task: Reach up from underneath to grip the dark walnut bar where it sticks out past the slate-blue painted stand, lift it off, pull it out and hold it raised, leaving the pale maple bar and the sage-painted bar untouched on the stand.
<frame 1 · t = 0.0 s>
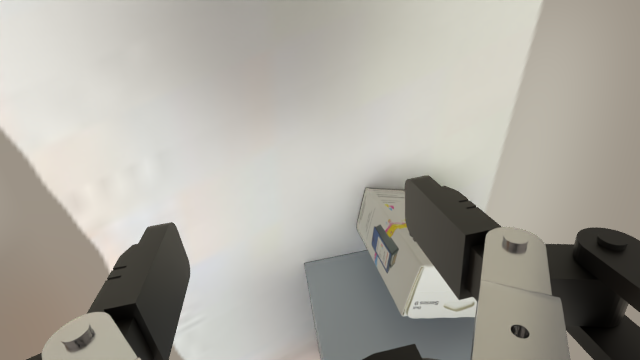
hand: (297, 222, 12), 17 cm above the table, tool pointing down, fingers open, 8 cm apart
stand: (366, 300, 39), on the table
ink box: (398, 207, 34), on the table
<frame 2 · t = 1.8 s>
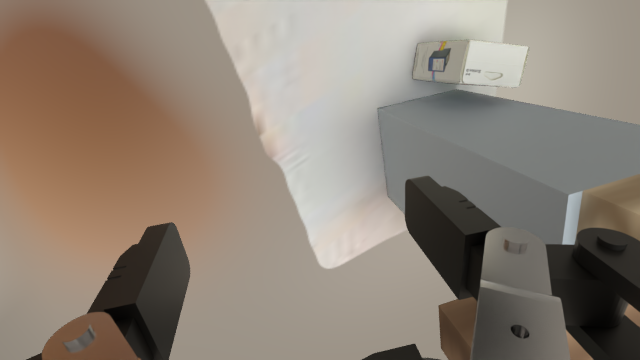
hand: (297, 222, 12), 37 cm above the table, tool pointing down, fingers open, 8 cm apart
stand: (420, 145, 53), on the table
ink box: (439, 62, 49), on the table
walnut bar: (581, 280, 24), point 32 cm above the table, touching stand
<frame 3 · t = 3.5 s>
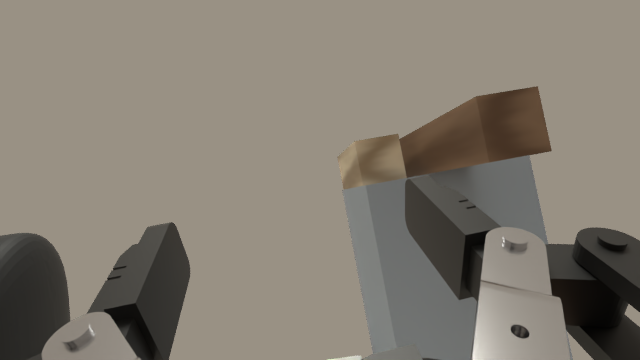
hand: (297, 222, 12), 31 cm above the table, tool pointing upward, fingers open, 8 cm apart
maple bar: (370, 184, 35), point 32 cm above the table, touching stand
walnut bar: (439, 171, 31), point 32 cm above the table, touching stand
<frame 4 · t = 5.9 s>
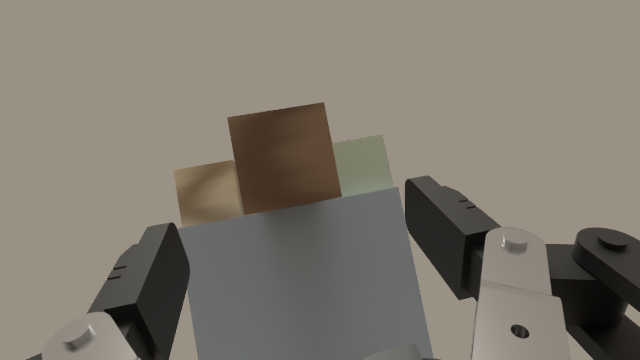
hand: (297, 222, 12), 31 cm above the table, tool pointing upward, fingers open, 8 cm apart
sage bar: (352, 195, 29), point 32 cm above the table, touching stand
maple bar: (227, 219, 28), point 32 cm above the table, touching stand
walnut bar: (291, 207, 24), point 32 cm above the table, touching stand
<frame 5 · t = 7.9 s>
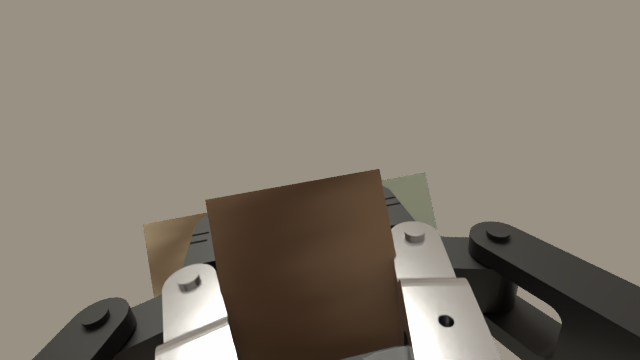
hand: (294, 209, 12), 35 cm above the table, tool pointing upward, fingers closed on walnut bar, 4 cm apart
sage bar: (377, 241, 23), point 32 cm above the table, touching stand
maple bar: (219, 273, 22), point 32 cm above the table, touching stand
walnut bar: (303, 269, 18), point 32 cm above the table, touching gripper, stand
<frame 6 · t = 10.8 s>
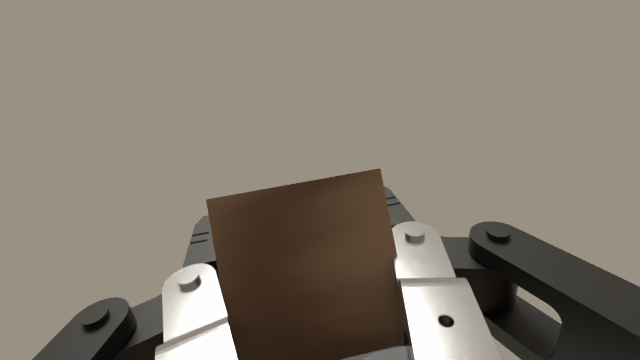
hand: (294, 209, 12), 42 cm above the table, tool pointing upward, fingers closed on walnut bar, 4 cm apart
walnut bar: (304, 269, 18), point 39 cm above the table, touching gripper
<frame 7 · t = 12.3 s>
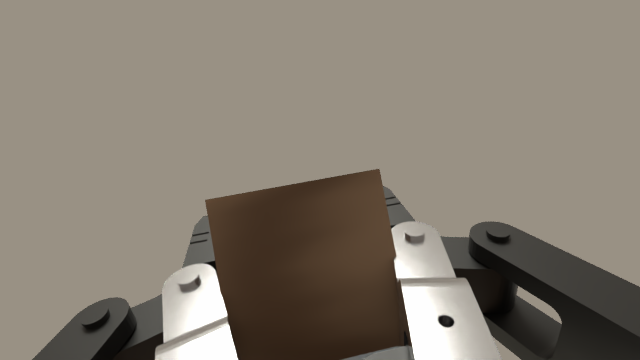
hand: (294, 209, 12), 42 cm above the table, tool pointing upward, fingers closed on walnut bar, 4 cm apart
walnut bar: (304, 269, 18), point 39 cm above the table, touching gripper
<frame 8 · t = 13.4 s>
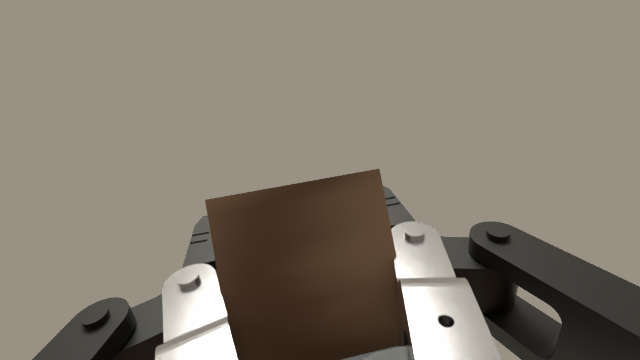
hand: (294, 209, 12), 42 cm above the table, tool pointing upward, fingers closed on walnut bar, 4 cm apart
walnut bar: (304, 269, 18), point 39 cm above the table, touching gripper
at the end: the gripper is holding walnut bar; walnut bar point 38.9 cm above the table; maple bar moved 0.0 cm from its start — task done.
